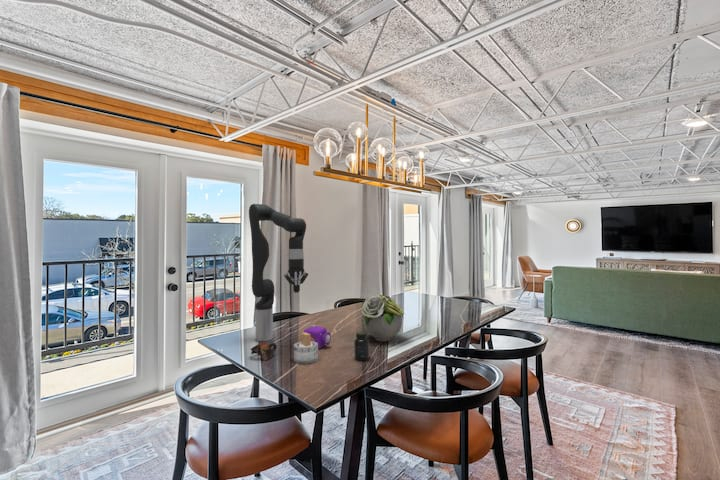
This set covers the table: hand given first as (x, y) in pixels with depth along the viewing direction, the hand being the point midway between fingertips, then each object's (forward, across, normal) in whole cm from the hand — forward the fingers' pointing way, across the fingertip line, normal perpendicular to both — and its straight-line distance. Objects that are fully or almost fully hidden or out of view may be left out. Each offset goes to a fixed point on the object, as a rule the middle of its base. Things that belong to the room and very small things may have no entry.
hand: (296, 292), depth 172 cm
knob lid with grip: (+24, +3, +15) cm, 28 cm away
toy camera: (+29, -11, +2) cm, 31 cm away
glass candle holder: (+29, +3, +15) cm, 33 cm away
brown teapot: (+29, +17, -1) cm, 34 cm away
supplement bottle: (+29, -18, +30) cm, 46 cm away
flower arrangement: (+29, -45, +14) cm, 55 cm away
